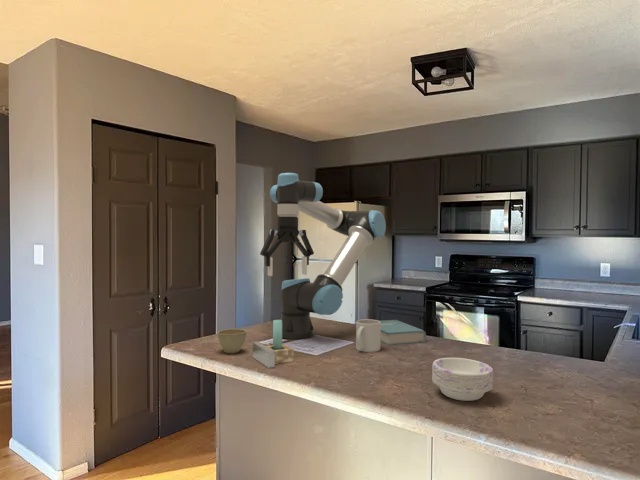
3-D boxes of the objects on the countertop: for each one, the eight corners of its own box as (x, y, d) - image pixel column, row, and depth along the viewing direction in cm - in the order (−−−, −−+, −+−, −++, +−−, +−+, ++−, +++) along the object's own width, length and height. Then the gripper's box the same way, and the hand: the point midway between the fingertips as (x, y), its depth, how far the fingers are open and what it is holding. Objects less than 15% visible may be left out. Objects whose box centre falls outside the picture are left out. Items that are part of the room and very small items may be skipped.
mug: (374, 345, 171) (374, 318, 171) (385, 351, 162) (385, 323, 162) (347, 347, 168) (347, 320, 168) (357, 353, 159) (357, 325, 159)
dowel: (280, 355, 152) (280, 319, 152) (283, 357, 150) (283, 321, 149) (271, 356, 151) (271, 320, 151) (274, 358, 148) (275, 322, 148)
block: (283, 355, 156) (283, 343, 156) (293, 361, 149) (293, 349, 149) (261, 358, 152) (261, 346, 152) (270, 364, 145) (270, 352, 145)
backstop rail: (258, 356, 155) (258, 341, 155) (274, 367, 143) (274, 351, 142) (252, 357, 154) (252, 342, 154) (268, 367, 142) (268, 351, 141)
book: (363, 333, 193) (364, 321, 193) (397, 331, 198) (397, 319, 198) (388, 346, 172) (388, 332, 172) (425, 343, 177) (425, 330, 177)
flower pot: (249, 348, 165) (249, 328, 165) (242, 355, 155) (242, 334, 155) (222, 347, 166) (222, 328, 166) (213, 355, 156) (213, 334, 156)
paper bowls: (505, 402, 114) (506, 370, 114) (452, 408, 110) (453, 375, 110) (469, 382, 129) (469, 355, 129) (421, 387, 124) (421, 358, 124)
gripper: (313, 217, 174) (313, 272, 174) (251, 215, 162) (251, 275, 162) (323, 216, 167) (322, 274, 168) (259, 215, 155) (258, 277, 156)
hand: (287, 275), depth 165 cm, fingers open, 13 cm apart
